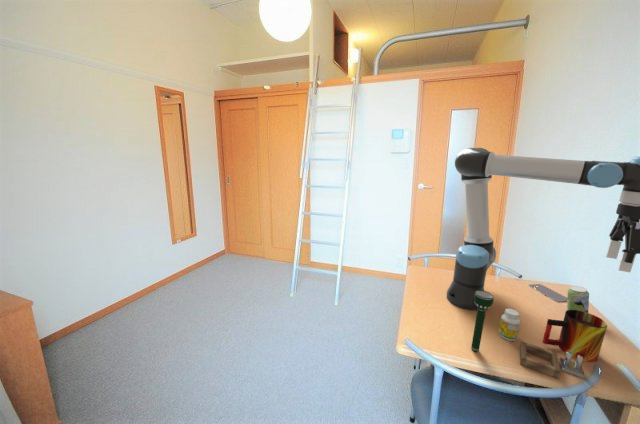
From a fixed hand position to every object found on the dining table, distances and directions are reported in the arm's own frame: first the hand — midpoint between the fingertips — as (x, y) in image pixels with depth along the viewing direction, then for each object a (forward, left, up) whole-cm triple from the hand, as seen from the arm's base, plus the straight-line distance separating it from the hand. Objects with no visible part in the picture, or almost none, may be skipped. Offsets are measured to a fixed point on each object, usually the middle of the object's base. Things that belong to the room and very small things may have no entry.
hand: (617, 264), depth 96 cm
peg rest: (-12, -32, -25) cm, 43 cm away
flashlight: (-36, -40, -26) cm, 60 cm away
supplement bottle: (-28, -26, -26) cm, 46 cm away
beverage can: (-6, +5, -26) cm, 27 cm away
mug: (-10, -23, -26) cm, 36 cm away
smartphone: (-13, +22, -26) cm, 36 cm away
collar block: (-20, -35, -25) cm, 47 cm away
